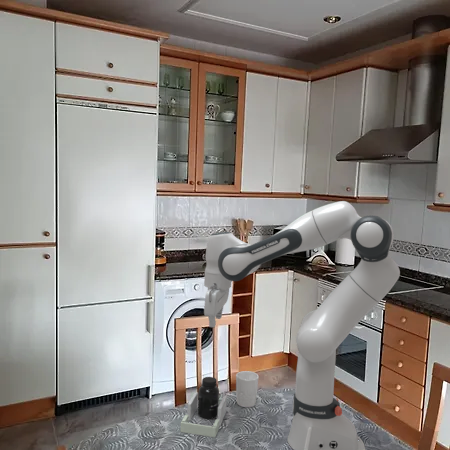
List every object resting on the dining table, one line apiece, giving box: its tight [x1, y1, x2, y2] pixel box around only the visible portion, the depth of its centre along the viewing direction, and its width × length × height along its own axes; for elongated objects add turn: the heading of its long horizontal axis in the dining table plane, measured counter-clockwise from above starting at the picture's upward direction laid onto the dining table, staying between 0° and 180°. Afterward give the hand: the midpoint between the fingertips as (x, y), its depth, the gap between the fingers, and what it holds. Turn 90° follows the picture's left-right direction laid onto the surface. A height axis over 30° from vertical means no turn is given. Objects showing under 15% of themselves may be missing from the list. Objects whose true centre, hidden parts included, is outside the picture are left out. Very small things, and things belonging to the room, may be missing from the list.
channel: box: [186, 392, 227, 426], centre depth 143 cm, size 11×8×6 cm
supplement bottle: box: [197, 376, 220, 420], centre depth 144 cm, size 7×7×12 cm
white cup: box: [235, 370, 260, 408], centre depth 153 cm, size 8×8×10 cm
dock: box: [180, 414, 220, 438], centre depth 134 cm, size 11×5×3 cm, turn 78°
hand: (215, 322), depth 142 cm, fingers open, 8 cm apart
